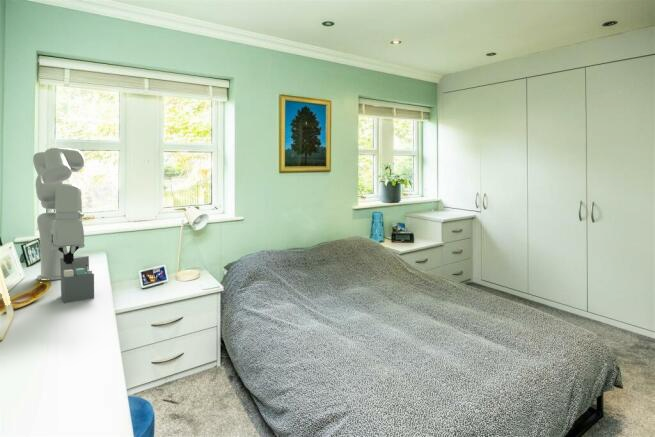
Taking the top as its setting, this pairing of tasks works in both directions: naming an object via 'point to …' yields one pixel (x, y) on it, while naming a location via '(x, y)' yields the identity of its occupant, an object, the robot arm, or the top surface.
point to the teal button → (79, 271)
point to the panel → (77, 287)
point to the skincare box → (75, 264)
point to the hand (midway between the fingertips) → (68, 263)
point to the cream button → (68, 273)
